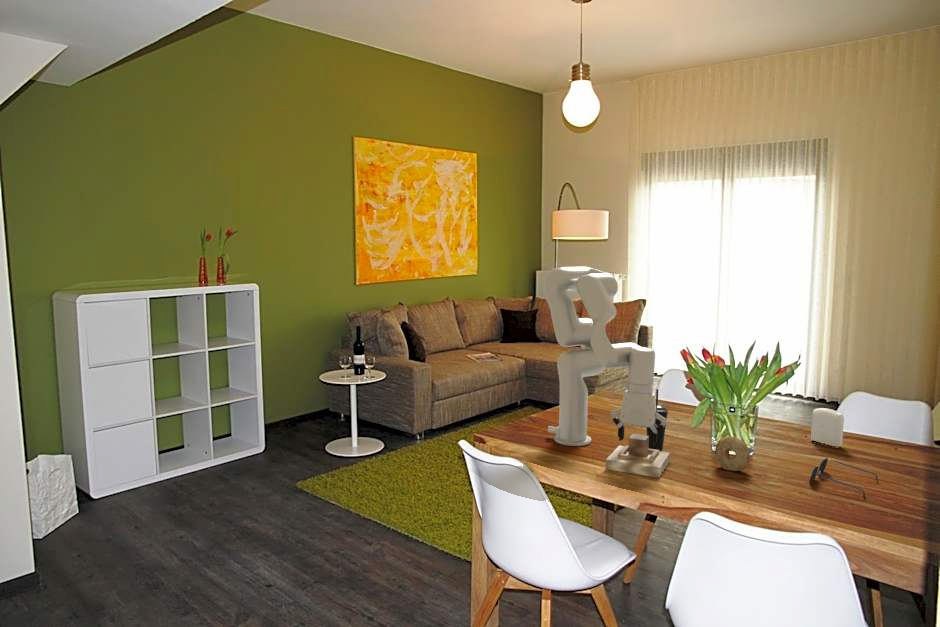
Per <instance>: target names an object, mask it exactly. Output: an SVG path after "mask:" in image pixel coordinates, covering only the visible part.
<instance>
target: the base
mask: <svg viewBox="0 0 940 627" xmlns="http://www.w3.org/2000/svg"><path fill="white" fill-rule="evenodd" d="M628 449H629V445H627V444H626V445H618V446H617V447H616V448H615V449H614V451H613V452H611V454H609V455H608V457H607V458H606V459H605V470H610V471H613V472H614V471H615V472H620V473H627V474H628V473H629V474H633V475H634V474H635V475H639V476H646V477H647V476H648V477H652V478H658V477H659V478H660V477H661V476H662V474H663V473H664V471H665V470H666V468H667V467H668V466H669V464H670V460H671V453H670V452H667V451H662V450H655V449H648V456H647V457H640V456H633V455H628ZM668 463H669V464H668ZM666 466H667V467H666ZM664 469H665V470H664ZM662 472H663V473H662ZM660 475H661V476H660Z"/></svg>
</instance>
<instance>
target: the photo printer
mask: <svg viewBox="0 0 940 627" xmlns="http://www.w3.org/2000/svg"><path fill="white" fill-rule="evenodd" d="M844 419H845V417H844V415H843V414H842V413H841V412H839V411H837V410H834V409H832V408H831V409H830V408H825V407H819V408H818V407H817V408H814V409H813V411H812V413H811V430H810V441H811V440H814V441H817V442H821V443H825V444H829V445H832V446H841V445H842V446H843V441H844V440H843V439H844V437H843V436H844V422H845V420H844Z"/></svg>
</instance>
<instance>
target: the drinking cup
mask: <svg viewBox="0 0 940 627" xmlns="http://www.w3.org/2000/svg"><path fill="white" fill-rule="evenodd" d="M655 398H656V412H657V413H658V414H660V415H661V416H663V417H664V418H666V419H667V420H668V413H669V408H668V407H666V406H664V405H661V404H659V388H658V389H655ZM655 424H656V425H657V427H658V426H659V425H660V424H661V421H660V420H658V419H657V418H656V422H655ZM666 426H667V423H666V424H665V426H664V427H663V429H661V430H660V431H659V432H658V434H657V443H655V444H654V446H651V433H652V432H653V431H652V430H651V428H650V427H645V429H646V436H649V449H655V450H659V451H662V450H663V449H664V440H665V434H666Z"/></svg>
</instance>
